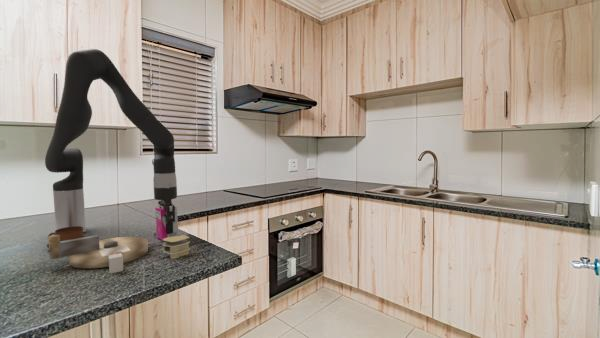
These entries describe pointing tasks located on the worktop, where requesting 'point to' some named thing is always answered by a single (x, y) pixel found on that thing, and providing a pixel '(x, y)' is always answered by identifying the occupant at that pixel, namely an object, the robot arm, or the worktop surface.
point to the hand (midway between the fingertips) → (167, 231)
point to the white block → (115, 263)
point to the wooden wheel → (96, 250)
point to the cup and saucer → (68, 233)
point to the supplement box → (162, 225)
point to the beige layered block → (176, 246)
